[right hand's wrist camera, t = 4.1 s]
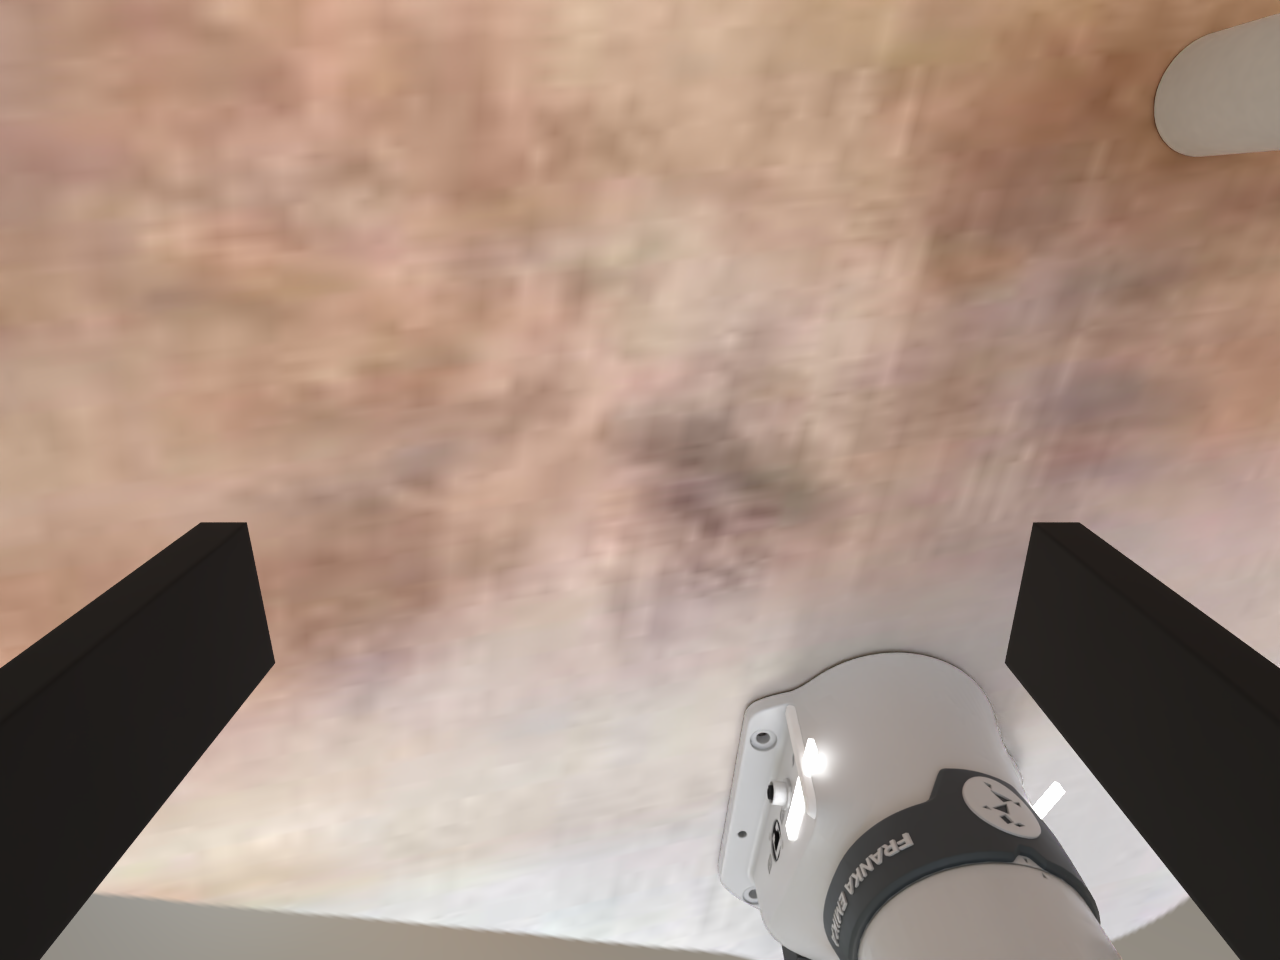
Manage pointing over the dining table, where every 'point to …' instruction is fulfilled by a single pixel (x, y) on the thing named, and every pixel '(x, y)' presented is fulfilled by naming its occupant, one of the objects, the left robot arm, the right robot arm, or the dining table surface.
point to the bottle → (1223, 92)
